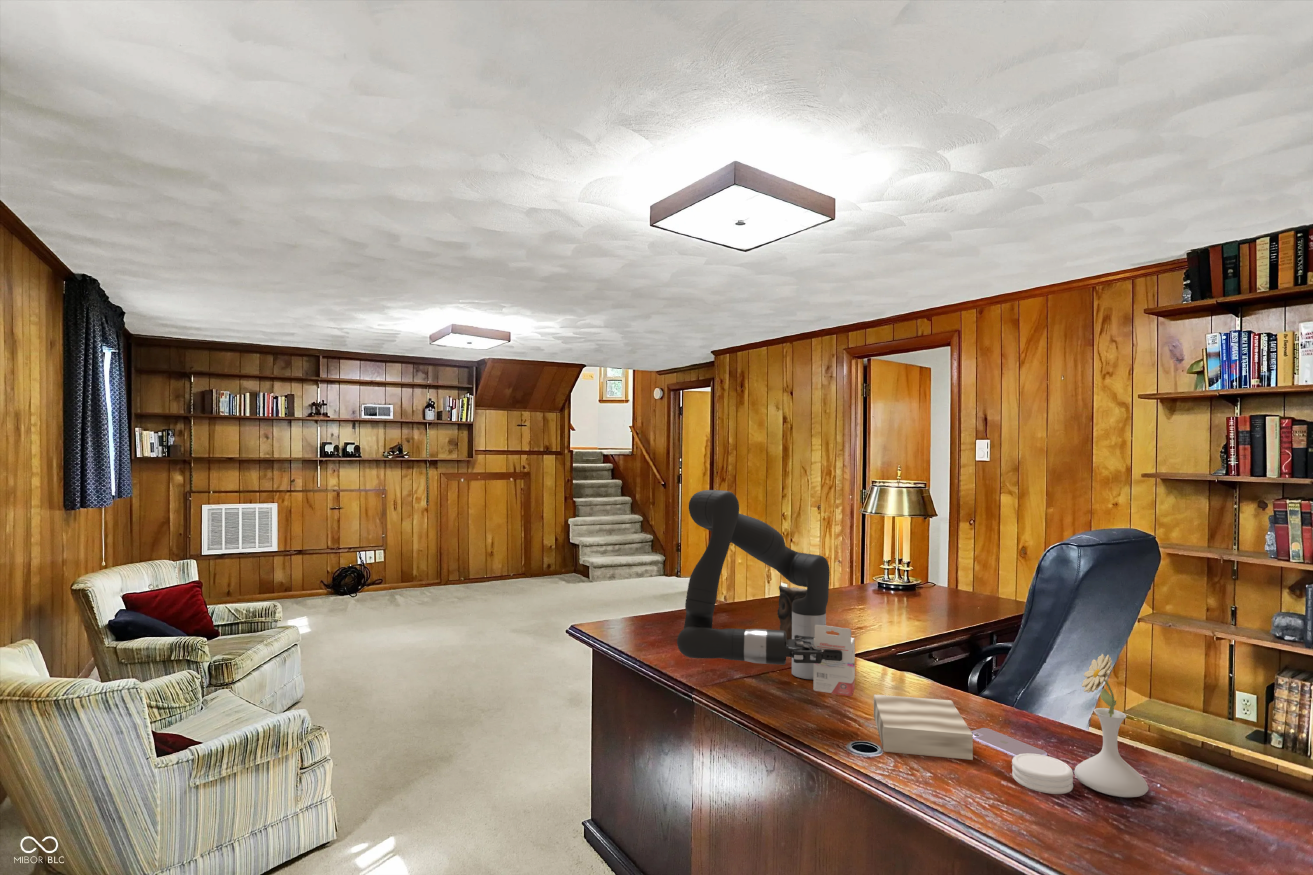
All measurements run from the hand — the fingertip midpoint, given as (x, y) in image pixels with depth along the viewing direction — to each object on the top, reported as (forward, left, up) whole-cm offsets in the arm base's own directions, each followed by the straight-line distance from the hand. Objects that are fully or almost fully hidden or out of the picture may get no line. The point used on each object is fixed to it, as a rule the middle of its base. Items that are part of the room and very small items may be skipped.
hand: (840, 651), depth 155 cm
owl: (-61, -8, -17) cm, 64 cm away
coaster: (+18, +35, -17) cm, 43 cm away
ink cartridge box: (0, -1, -9) cm, 9 cm away
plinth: (+1, +16, -17) cm, 24 cm away
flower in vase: (+19, +46, -17) cm, 53 cm away
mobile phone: (+1, +33, -17) cm, 38 cm away
